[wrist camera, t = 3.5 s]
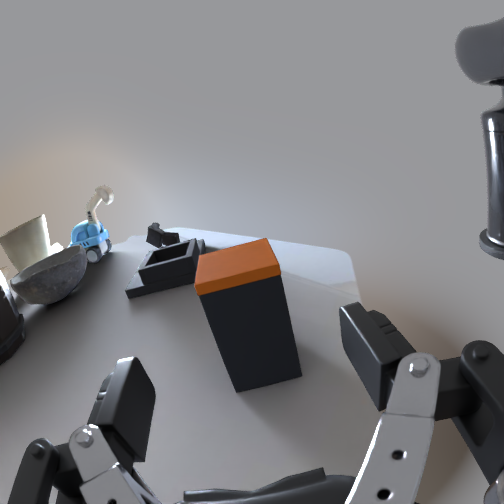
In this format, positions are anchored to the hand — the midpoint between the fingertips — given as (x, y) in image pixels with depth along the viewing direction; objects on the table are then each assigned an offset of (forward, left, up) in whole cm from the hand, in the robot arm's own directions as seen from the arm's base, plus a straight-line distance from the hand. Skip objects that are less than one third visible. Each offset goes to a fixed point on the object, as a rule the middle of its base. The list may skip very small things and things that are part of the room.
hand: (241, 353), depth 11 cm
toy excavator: (-7, -71, -11) cm, 72 cm away
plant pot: (+11, -78, -11) cm, 80 cm away
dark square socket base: (-13, -40, -10) cm, 43 cm away
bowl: (+7, -56, -11) cm, 57 cm away
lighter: (-19, -55, -11) cm, 59 cm away
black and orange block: (-7, -9, -10) cm, 15 cm away
